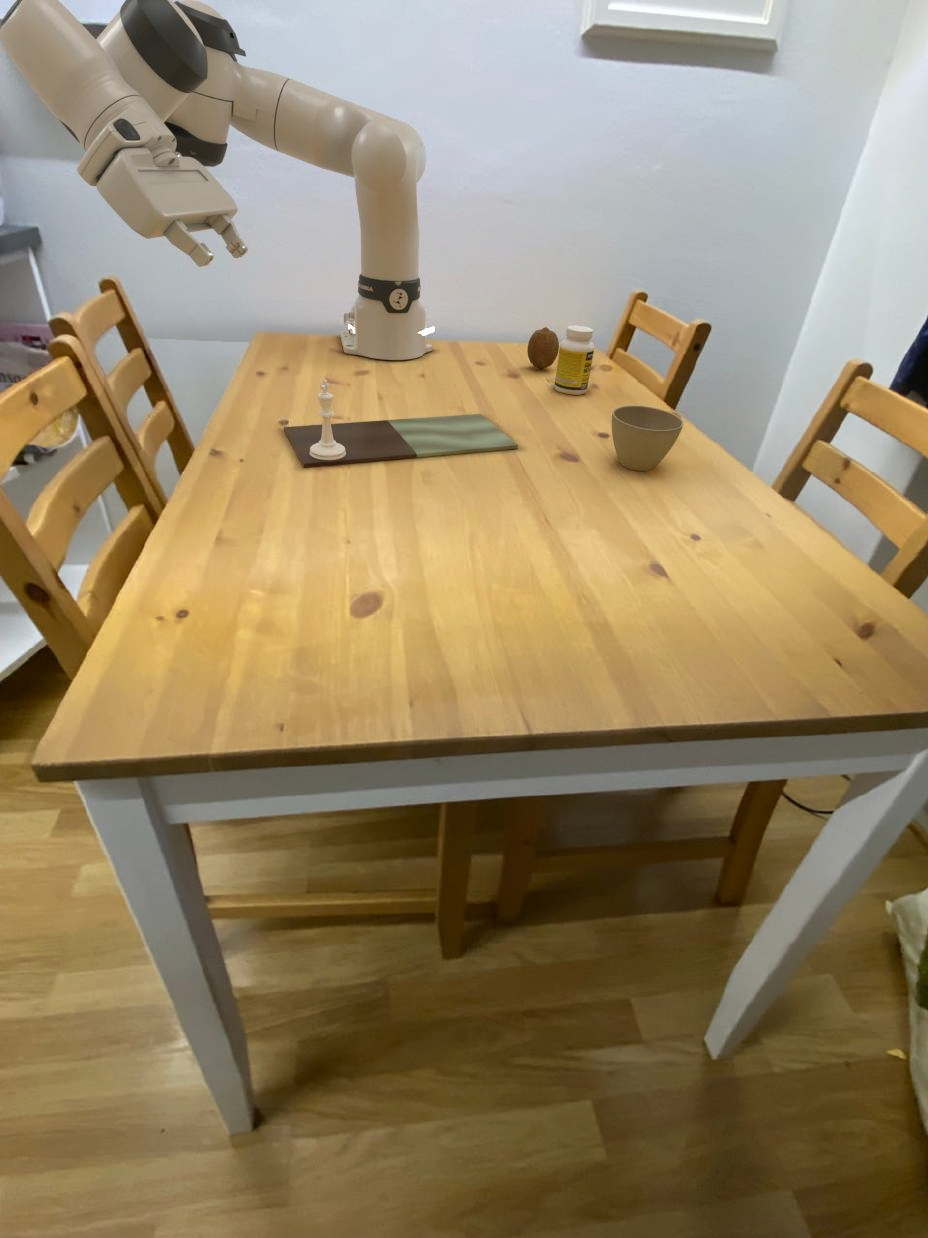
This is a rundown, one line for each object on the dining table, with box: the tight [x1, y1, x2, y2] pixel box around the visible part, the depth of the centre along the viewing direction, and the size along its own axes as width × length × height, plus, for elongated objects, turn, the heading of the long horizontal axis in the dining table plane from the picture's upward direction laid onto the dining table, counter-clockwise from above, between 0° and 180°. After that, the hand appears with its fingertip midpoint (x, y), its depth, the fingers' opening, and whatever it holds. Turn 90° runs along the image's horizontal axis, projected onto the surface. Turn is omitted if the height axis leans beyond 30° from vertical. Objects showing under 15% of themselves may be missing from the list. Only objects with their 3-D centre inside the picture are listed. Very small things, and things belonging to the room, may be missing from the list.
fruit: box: [527, 326, 560, 370], centre depth 139 cm, size 6×6×8 cm
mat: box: [283, 413, 519, 468], centre depth 104 cm, size 14×32×1 cm, turn 112°
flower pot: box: [611, 404, 684, 472], centre depth 100 cm, size 10×10×7 cm
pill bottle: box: [553, 325, 595, 396], centre depth 127 cm, size 6×6×11 cm
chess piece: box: [310, 379, 346, 460], centre depth 93 cm, size 5×5×10 cm
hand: (226, 258), depth 84 cm, fingers open, 8 cm apart
